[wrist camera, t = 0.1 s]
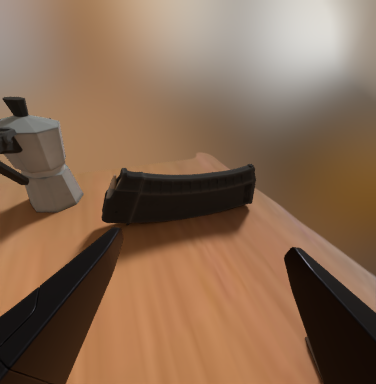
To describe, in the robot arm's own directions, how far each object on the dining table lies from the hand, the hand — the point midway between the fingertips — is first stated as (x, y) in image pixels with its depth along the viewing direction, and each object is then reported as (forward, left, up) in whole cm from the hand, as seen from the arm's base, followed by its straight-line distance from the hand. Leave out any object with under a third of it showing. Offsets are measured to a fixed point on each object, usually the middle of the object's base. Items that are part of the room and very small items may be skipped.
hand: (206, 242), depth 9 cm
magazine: (+20, 0, -17) cm, 26 cm away
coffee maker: (+19, +26, -17) cm, 36 cm away
